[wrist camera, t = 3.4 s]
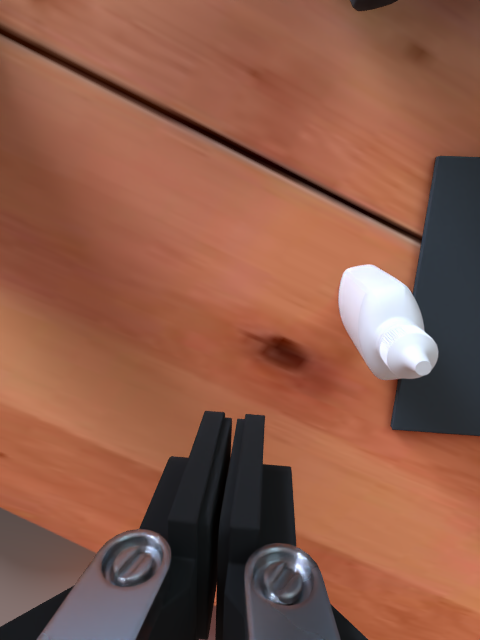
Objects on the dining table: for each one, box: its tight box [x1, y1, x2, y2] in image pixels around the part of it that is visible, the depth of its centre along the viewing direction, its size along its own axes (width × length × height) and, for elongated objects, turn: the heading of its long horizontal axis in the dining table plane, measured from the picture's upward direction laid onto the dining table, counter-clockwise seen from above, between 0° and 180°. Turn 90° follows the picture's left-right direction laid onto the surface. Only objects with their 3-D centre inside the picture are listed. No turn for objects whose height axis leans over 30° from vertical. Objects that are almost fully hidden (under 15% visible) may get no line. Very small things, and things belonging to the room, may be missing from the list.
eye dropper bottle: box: [338, 265, 439, 380], centre depth 23 cm, size 4×6×12 cm
